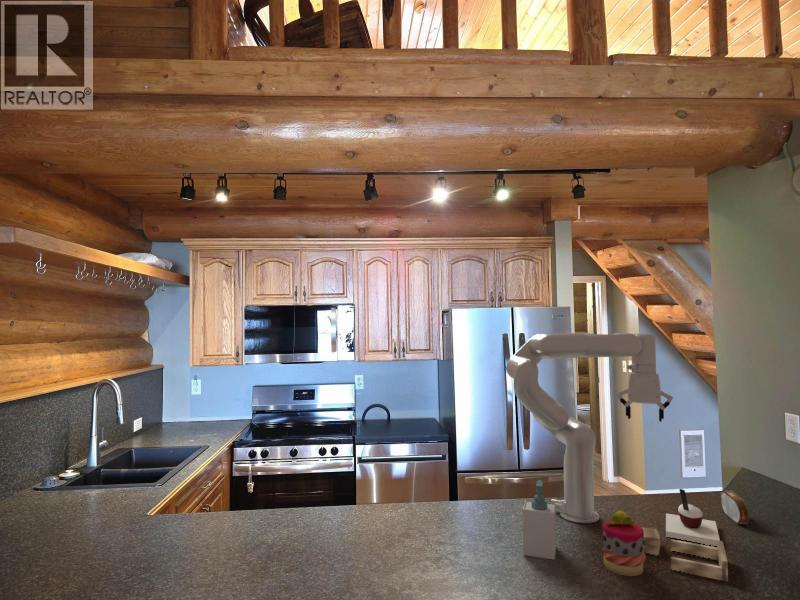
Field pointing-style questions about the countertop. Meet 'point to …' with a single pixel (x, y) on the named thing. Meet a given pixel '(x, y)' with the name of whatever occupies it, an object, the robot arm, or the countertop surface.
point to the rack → (698, 567)
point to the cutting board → (692, 531)
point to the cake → (623, 545)
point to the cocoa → (689, 513)
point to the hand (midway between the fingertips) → (644, 419)
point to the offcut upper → (651, 537)
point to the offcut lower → (651, 550)
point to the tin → (734, 507)
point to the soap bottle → (539, 526)
